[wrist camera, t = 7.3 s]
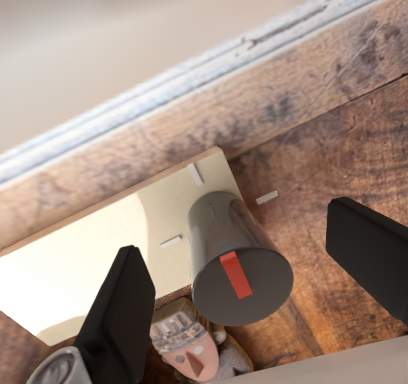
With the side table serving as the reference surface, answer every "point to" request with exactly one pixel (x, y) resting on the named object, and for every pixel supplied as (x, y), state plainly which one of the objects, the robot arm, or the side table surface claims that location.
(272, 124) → the side table surface
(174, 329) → the figurine
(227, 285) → the hob knob
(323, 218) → the side table surface
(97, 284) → the cream knob base plate
